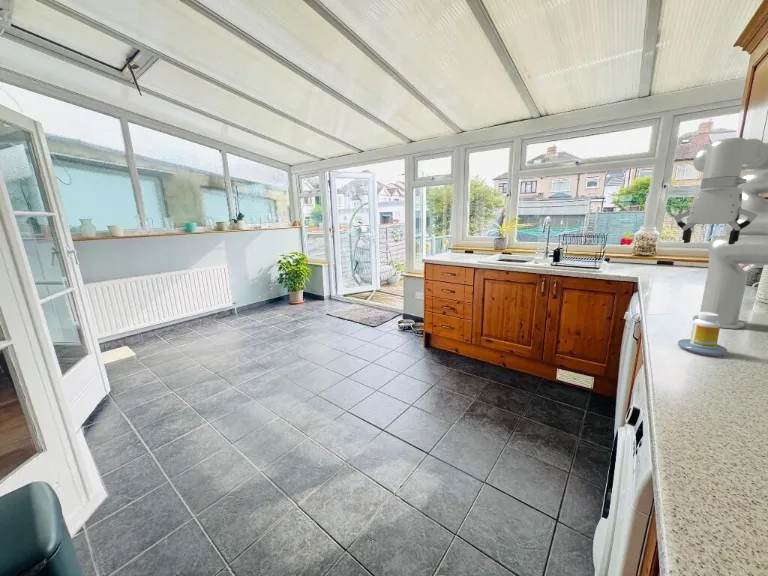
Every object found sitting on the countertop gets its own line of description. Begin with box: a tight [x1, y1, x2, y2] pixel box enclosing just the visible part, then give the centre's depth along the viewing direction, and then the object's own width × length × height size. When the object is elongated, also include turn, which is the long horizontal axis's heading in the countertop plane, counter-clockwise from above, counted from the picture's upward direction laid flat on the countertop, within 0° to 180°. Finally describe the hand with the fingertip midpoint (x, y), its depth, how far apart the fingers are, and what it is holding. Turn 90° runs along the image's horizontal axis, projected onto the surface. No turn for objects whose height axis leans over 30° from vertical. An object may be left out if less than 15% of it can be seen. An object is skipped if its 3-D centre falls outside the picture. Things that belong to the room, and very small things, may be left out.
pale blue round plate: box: [677, 338, 728, 357], centre depth 90 cm, size 10×10×2 cm
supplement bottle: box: [689, 311, 721, 349], centre depth 89 cm, size 5×5×10 cm
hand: (708, 243), depth 93 cm, fingers open, 9 cm apart
